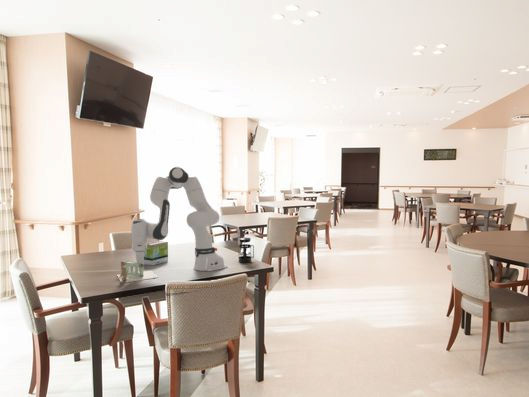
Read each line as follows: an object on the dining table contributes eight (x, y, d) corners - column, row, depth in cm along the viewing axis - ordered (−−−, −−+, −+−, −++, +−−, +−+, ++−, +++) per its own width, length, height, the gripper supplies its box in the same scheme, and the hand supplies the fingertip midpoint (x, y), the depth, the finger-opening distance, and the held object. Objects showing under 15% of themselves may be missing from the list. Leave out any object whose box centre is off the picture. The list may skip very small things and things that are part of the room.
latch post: (127, 280, 221) (126, 265, 220) (128, 282, 217) (128, 267, 217) (120, 281, 219) (119, 266, 218) (121, 283, 215) (120, 268, 215)
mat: (150, 270, 243) (150, 270, 243) (157, 277, 226) (157, 277, 226) (116, 275, 232) (116, 274, 232) (121, 283, 216) (121, 282, 216)
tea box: (153, 266, 256) (152, 244, 256) (142, 264, 261) (142, 243, 260) (168, 261, 270) (168, 241, 269) (158, 260, 274) (158, 240, 274)
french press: (237, 263, 260) (237, 231, 259) (237, 260, 269) (236, 229, 268) (254, 263, 262) (254, 230, 260) (253, 260, 271) (252, 228, 269)
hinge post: (126, 274, 234) (125, 260, 234) (127, 275, 231) (126, 261, 230) (119, 275, 233) (118, 261, 232) (120, 276, 229) (119, 262, 228)
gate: (125, 275, 230) (124, 262, 229) (127, 274, 231) (126, 261, 231) (141, 277, 223) (141, 264, 223) (143, 277, 225) (143, 263, 224)
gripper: (134, 243, 237) (135, 264, 238) (133, 249, 217) (134, 272, 218) (144, 242, 239) (145, 263, 240) (145, 248, 219) (146, 271, 220)
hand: (140, 267), depth 229 cm, fingers closed
